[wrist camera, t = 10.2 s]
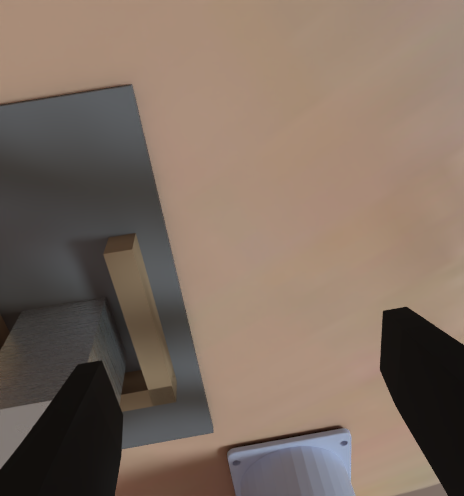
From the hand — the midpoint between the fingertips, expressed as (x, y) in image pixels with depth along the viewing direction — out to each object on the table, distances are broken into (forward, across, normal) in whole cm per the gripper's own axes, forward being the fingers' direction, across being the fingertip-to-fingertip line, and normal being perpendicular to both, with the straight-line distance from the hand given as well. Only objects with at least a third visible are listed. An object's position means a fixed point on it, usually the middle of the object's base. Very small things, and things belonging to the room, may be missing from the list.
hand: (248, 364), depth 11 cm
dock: (+9, +8, +4) cm, 13 cm away
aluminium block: (+9, +8, +5) cm, 13 cm away
